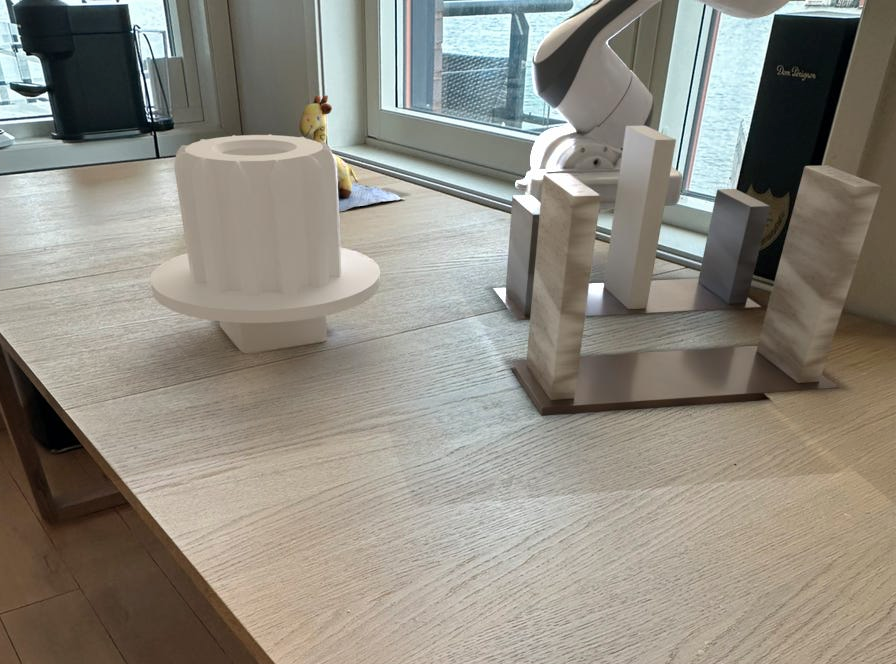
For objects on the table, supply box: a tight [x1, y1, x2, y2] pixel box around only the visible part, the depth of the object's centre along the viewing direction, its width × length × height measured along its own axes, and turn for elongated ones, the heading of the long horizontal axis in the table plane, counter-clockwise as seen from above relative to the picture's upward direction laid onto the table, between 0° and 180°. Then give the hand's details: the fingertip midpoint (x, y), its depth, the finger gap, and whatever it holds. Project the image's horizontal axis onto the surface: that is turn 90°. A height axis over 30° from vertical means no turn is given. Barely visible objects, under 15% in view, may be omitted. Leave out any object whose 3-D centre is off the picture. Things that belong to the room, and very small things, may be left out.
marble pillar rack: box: [509, 164, 882, 416], centre depth 83 cm, size 31×12×19 cm, turn 100°
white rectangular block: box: [603, 126, 677, 309], centre depth 102 cm, size 2×9×18 cm, turn 10°
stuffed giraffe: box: [299, 94, 404, 213], centre depth 145 cm, size 16×18×16 cm
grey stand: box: [492, 188, 771, 321], centre depth 104 cm, size 31×12×12 cm, turn 100°
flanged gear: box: [149, 133, 381, 355], centre depth 93 cm, size 25×25×19 cm
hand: (622, 202), depth 105 cm, fingers open, 8 cm apart
